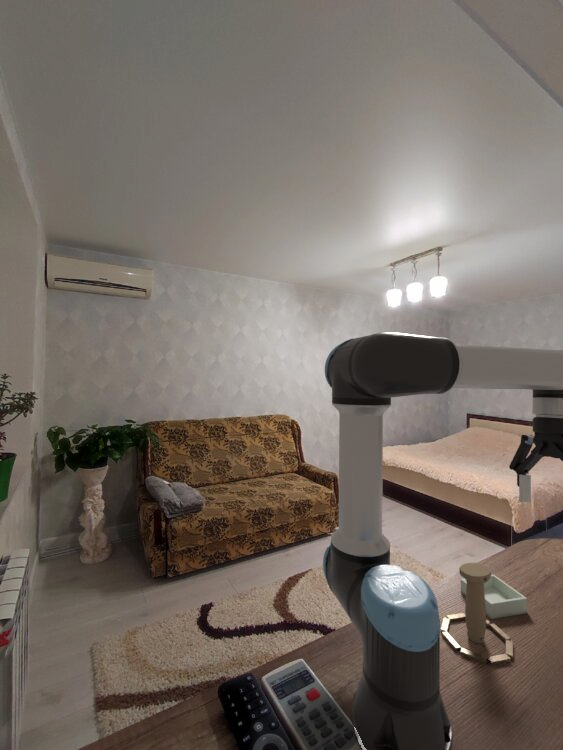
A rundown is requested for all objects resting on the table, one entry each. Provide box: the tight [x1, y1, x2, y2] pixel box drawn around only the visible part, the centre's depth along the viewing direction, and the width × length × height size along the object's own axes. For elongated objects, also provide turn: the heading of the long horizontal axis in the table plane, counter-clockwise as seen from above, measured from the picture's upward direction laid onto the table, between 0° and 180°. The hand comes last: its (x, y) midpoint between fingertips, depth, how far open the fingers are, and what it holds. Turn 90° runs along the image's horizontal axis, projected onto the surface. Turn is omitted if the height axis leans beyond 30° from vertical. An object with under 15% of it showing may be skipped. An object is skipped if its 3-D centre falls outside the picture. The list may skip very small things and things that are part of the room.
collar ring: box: [440, 612, 514, 667], centre depth 73 cm, size 13×13×1 cm
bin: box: [460, 574, 528, 620], centre depth 85 cm, size 10×10×4 cm
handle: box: [458, 562, 492, 645], centre depth 73 cm, size 5×6×15 cm
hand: (553, 510), depth 77 cm, fingers open, 13 cm apart
